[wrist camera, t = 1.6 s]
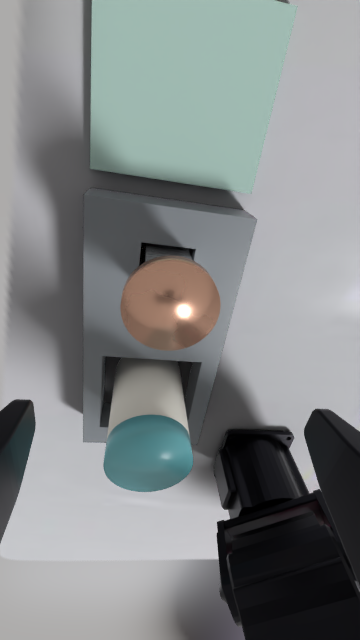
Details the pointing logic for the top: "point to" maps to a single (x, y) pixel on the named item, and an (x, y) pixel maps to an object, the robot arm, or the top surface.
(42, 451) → the top surface
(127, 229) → the housing
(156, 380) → the cylinder
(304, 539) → the robot arm
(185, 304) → the plunger
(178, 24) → the mat
